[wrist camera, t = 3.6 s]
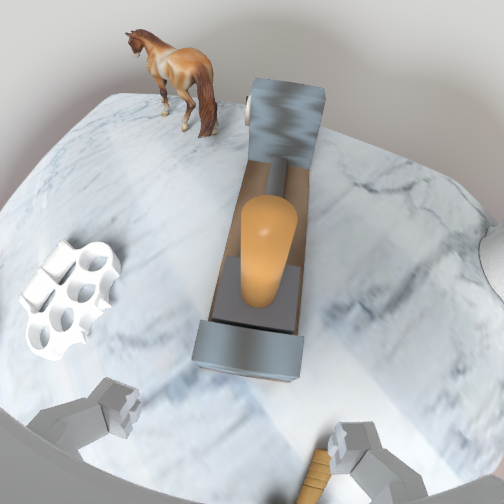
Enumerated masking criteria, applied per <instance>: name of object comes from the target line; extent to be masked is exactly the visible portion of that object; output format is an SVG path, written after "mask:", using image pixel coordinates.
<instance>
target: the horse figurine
mask: <svg viewBox="0 0 504 504" xmlns="http://www.w3.org/2000/svg"><path fill="white" fill-rule="evenodd" d="M131 32H132V34H129V33H125V34H126V35H127V36H129V37H130V38H129V42H128V43H129V45H130V46H131V47H132V56H133V57H134V58H138V57H139V56H140V52H141V50H142V48H143V47H145V49H146V52H147V53H148V58H147V69H148V71H149V72H150V74H151V75H152V76H153V79H154V80H155V81H156V82H157V84H158V86H159V88H160V93H161V96H162V103H163V102H164V103H165V104H164V110H163V111H162V113H161V116H167V115H168V110H169V104H168V101H167V100H168V99H167V91H166V88H165V85H166V83H167V80H170V83H171V84H172V86H173V87H174V88H175V89H176V90H177V93H178V95H179V96H180V97H181V98H182V99H183V100H185V101H186V103H187V110H186V113H185V115H184V117H183V119H182V131H186V130H187V129H188V128H189V127H188V124H187V122H188V120H189V117H190V114H191V112H192V111H193V109H194V108H195V106H196V103H195V102H194V101H193V99H192V98H191V97H190V95H189V93H188V89H189V88H190V87H191V86H192V85H193V84H194V83H196V84H197V88H198V89H197V92H198V99H199V114H200V118H201V130H200V134H199V136H198V138H202V136H203V137H207V136H210V135H211V134H212V135H213V134H217V133H218V128H217V127H219V124H218V121H217V103H216V102H215V99H214V92H213V85H212V84H213V69H212V65H211V62H210V60H209V59H208V58H207V57H206V56H205V55H204V54H203V53H202V52H200V51H199V50H197V49H194V48H182V49H176V48H173V47H172V46H170V45H169V44H167V43H165V42H163V41H161V40H160V39H159V38H158V37H156V36H155V35H154V34H152V33H150V32H148V31H146V30H142V29H139V30H136V31H131Z"/></svg>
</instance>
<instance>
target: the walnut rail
mask: <svg viewBox="0 0 504 504" xmlns="http://www.w3.org/2000/svg"><path fill="white" fill-rule="evenodd" d="M325 100H326V98H325V90H324V88H321V87H316V86H310V85H304V84H298V83H291V82H285V81H277V80H270V79H261V78H256V79H255V81H254V83H253V86H252V88H251V94H250V95H249V96H247V97H246V114H245V124H246V126H250V129H249V153H248V163H247V167H246V170H245V174H244V178H243V181H242V185H241V189H240V193H239V196H238V200H237V204H236V208H235V212H234V216H233V220H232V224H231V227H230V231H229V235H228V239H227V243H226V247H225V251H224V255H223V259H222V264H221V268H220V272H219V276H218V280H217V284H216V288H215V293H214V297H213V301H212V305H211V310H210V314H209V318H208V321H205V320H200V324H199V329H198V333H197V337H196V341H195V346H194V350H193V355H192V360H193V361H194V362H195V363H196V364H197V365H198V366H199V367H200V368H204V369H208V370H213V371H218V372H224V373H229V374H235V375H240V376H246V377H253V378H259V379H266V380H273V381H281V382H291V381H293V380H295V379H297V378H299V377H300V369H301V360H302V352H303V343H304V336H297V333H298V324H299V315H300V305H301V294H302V283H303V271H304V258H305V244H306V229H307V211H308V189H309V168H310V164H311V160H312V156H313V152H314V148H315V144H316V140H317V135H318V131H319V127H320V122H321V118H322V114H323V109H324V105H325ZM261 195H274V196H278V197H281V198H283V199H285V200H287V201H288V202H289V203H290V204H291V205H292V206H293V207H294V208H295V210H296V212H297V216H298V221H297V225H296V229H295V233H294V236H293V240H292V243H291V247H290V250H289V254H288V257H287V261H286V264H285V265H291V266H298V267H301V270H300V282H299V292H298V302H297V312H296V321H295V330H294V332H293V333H292V335H288V334H281V333H274V332H268V331H261V330H255V329H249V328H243V327H237V326H231V325H226V324H220V323H215V322H213V319H212V314H213V310H214V305H215V301H216V297H217V292H218V288H219V284H220V279H221V275H222V271H223V267H224V263H225V258H226V255H228V256H234V257H241V213H242V209H243V207H244V205H245V204H246V203H247V202H248V201H249V200H251V199H252V198H254V197H257V196H261Z"/></svg>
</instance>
